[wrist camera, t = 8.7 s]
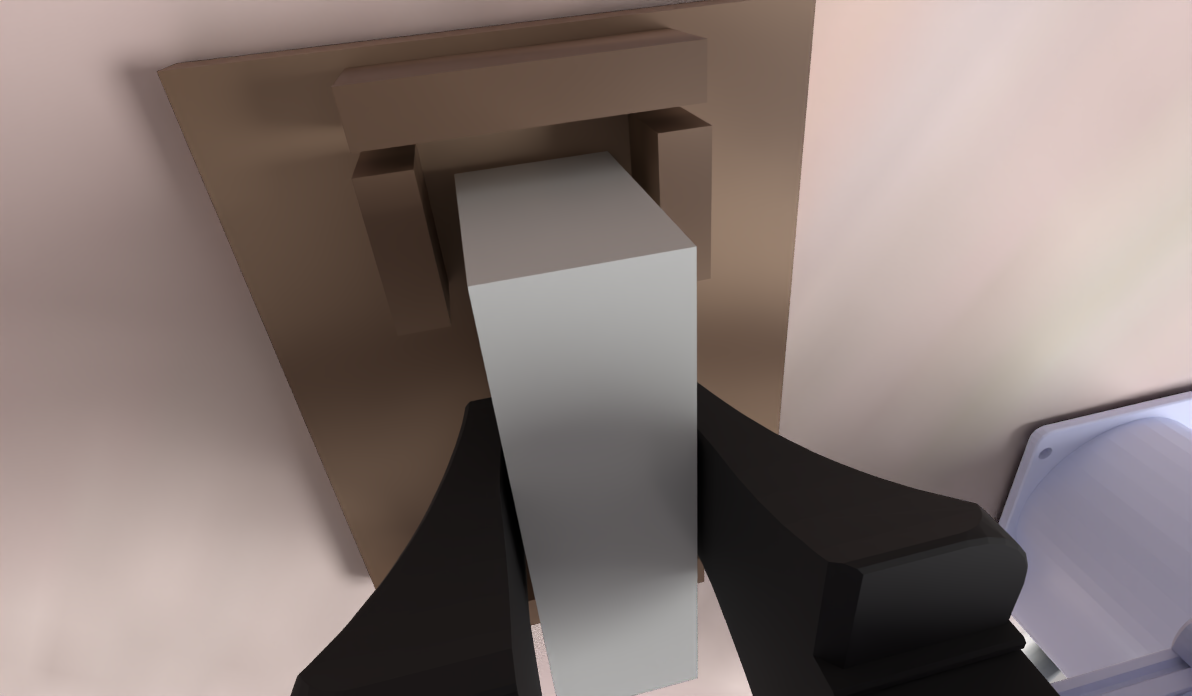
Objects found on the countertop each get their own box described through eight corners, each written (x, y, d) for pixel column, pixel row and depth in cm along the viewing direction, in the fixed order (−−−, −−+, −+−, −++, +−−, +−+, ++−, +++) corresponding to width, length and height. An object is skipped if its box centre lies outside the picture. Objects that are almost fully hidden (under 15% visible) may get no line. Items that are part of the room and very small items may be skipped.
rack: (757, 491, 21) (802, 563, 18) (384, 578, 19) (378, 671, 17) (792, -11, 13) (877, -3, 11) (176, 63, 12) (106, 92, 9)
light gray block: (634, 510, 18) (697, 678, 14) (528, 535, 17) (560, 716, 13) (607, 151, 13) (696, 246, 8) (454, 174, 12) (467, 286, 8)
